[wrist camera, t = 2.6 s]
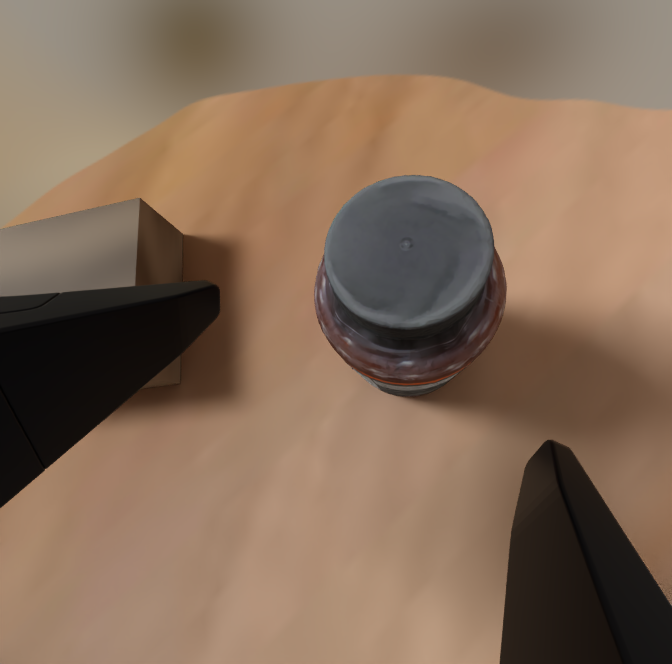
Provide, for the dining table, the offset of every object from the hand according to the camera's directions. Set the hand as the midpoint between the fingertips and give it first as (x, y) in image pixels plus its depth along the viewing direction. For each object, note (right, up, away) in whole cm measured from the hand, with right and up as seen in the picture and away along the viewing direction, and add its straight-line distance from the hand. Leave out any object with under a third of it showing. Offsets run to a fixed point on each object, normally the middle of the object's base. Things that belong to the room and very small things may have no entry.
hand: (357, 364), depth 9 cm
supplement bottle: (+3, 0, +10) cm, 11 cm away
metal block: (-15, +2, +14) cm, 21 cm away
